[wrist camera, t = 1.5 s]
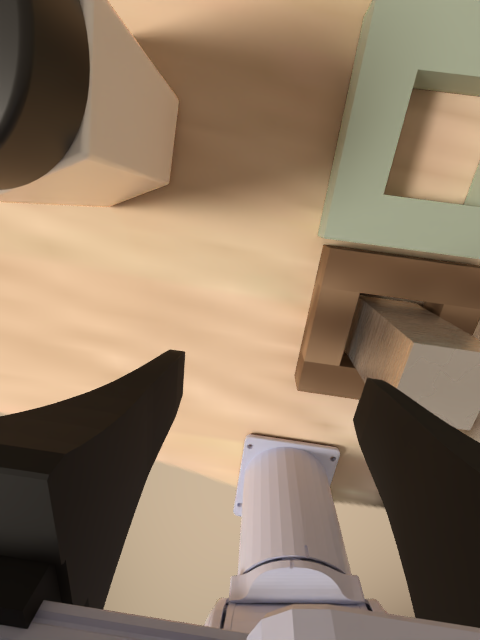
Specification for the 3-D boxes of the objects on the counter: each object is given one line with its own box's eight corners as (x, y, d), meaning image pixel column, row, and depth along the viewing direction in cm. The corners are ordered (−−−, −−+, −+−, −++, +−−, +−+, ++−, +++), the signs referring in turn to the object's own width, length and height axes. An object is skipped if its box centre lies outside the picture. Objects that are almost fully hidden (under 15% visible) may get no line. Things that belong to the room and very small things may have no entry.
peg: (396, 354, 21) (469, 430, 14) (342, 346, 21) (385, 417, 14) (414, 302, 20) (507, 356, 12) (356, 294, 20) (414, 342, 12)
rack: (488, 258, 19) (513, 263, 17) (317, 235, 19) (323, 238, 17) (579, 42, 15) (625, 17, 13) (363, 17, 15) (378, -12, 13)
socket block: (423, 394, 22) (438, 411, 20) (294, 375, 22) (297, 390, 21) (476, 265, 19) (500, 271, 17) (323, 244, 19) (330, 248, 17)
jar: (151, 14, 16) (-136, -510, 4) (203, 174, 18) (107, 109, 7) (15, 80, 17) (-464, -179, 6) (80, 220, 20) (-165, 228, 8)
